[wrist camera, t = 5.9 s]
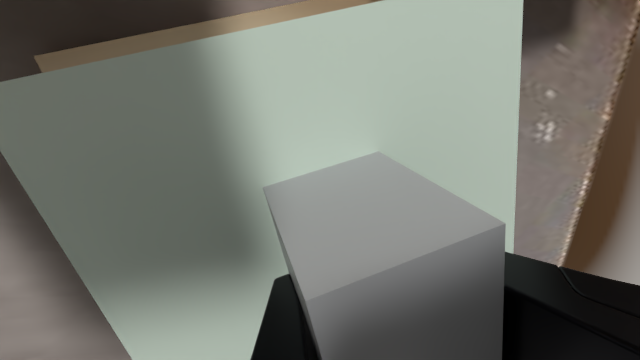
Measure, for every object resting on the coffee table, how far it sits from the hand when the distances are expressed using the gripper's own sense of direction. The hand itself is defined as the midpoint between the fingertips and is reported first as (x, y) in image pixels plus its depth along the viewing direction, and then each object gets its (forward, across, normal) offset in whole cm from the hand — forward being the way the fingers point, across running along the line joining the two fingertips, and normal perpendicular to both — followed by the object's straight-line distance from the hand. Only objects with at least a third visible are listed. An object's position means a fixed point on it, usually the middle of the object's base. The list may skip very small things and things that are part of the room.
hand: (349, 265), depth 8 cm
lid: (+3, 0, 0) cm, 3 cm away
